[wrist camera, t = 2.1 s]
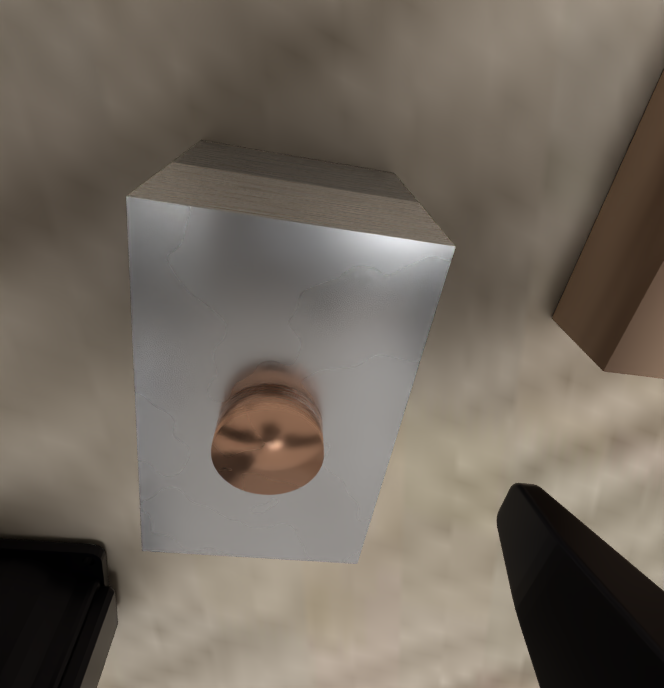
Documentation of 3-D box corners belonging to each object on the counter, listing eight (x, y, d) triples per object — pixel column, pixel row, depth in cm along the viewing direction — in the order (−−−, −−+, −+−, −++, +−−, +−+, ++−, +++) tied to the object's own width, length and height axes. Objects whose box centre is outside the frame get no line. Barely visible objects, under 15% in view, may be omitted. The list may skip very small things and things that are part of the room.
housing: (194, 393, 16) (131, 584, 10) (201, 139, 12) (106, 210, 6) (340, 408, 17) (360, 595, 11) (393, 172, 13) (470, 265, 7)
